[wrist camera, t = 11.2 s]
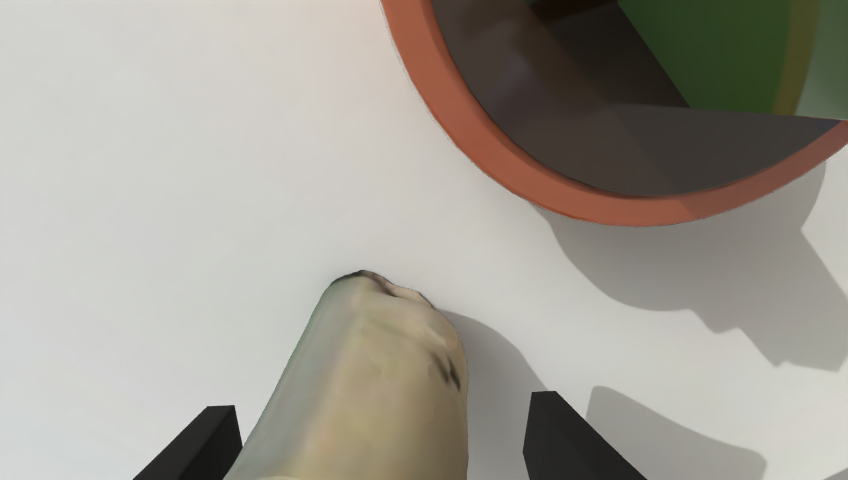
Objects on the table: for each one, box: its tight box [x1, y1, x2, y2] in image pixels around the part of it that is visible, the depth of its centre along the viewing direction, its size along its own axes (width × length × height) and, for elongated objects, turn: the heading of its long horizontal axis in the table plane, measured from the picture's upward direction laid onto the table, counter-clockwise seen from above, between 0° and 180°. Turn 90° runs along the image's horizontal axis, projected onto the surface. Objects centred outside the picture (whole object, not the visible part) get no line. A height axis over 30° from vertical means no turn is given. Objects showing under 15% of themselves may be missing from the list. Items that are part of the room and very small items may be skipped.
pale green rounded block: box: [223, 270, 468, 480], centre depth 10 cm, size 6×5×8 cm
